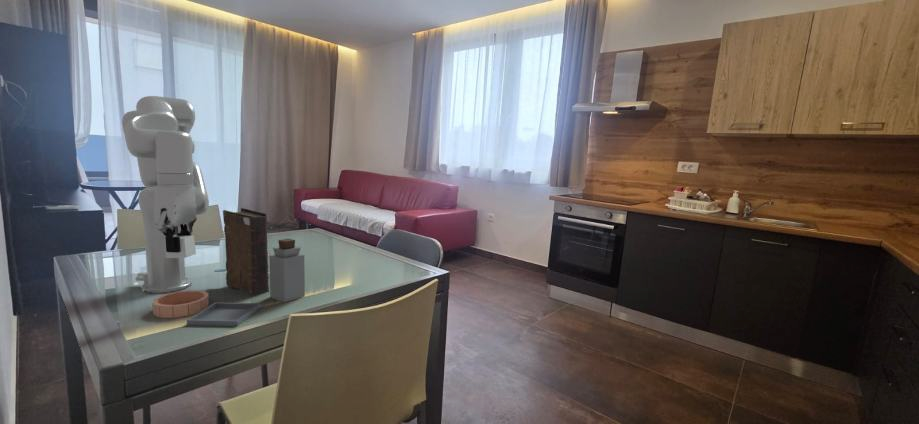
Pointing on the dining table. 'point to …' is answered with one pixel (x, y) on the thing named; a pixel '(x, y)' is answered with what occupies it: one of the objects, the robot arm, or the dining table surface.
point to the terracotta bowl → (180, 303)
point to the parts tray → (224, 314)
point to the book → (246, 251)
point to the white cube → (183, 248)
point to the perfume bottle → (287, 272)
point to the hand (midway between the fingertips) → (179, 249)
